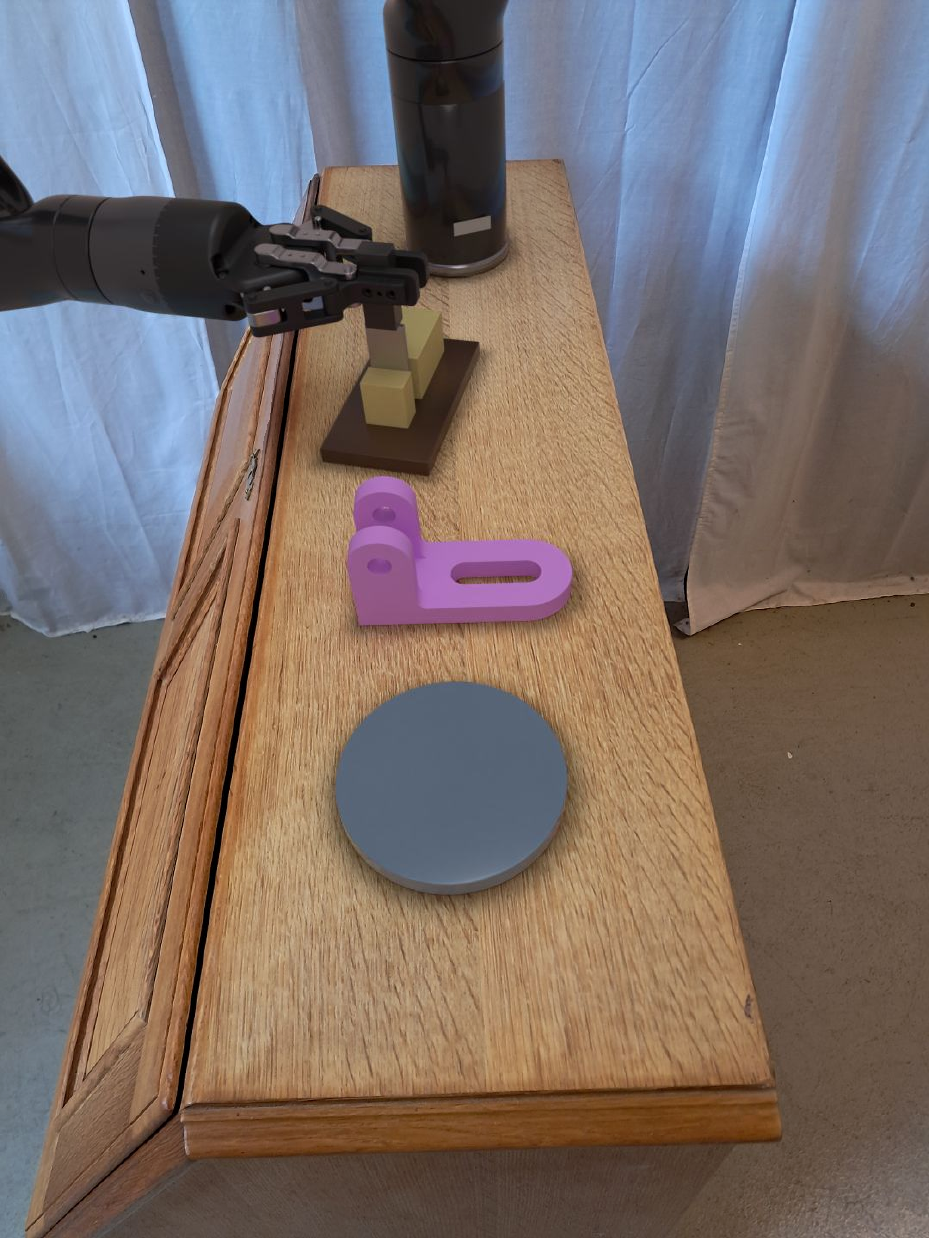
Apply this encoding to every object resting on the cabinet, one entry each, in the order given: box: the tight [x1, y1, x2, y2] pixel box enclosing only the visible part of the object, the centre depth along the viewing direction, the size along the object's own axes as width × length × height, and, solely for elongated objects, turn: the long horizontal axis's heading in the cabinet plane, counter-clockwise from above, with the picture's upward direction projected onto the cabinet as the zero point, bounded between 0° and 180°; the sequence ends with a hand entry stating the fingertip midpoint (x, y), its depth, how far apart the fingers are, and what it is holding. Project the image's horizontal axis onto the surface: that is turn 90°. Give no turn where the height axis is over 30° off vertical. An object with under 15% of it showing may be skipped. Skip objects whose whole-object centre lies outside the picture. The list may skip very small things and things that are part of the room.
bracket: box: [346, 475, 573, 626], centre depth 55 cm, size 13×6×7 cm, turn 89°
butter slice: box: [360, 367, 416, 429], centre depth 66 cm, size 2×3×4 cm, turn 75°
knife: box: [354, 241, 410, 372], centre depth 63 cm, size 2×3×12 cm, turn 75°
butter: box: [400, 306, 444, 399], centre depth 69 cm, size 6×3×4 cm, turn 165°
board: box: [319, 337, 481, 477], centre depth 69 cm, size 15×8×1 cm, turn 165°
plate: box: [334, 681, 569, 896], centre depth 48 cm, size 12×12×1 cm
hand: (421, 279), depth 59 cm, fingers closed on knife, 1 cm apart
